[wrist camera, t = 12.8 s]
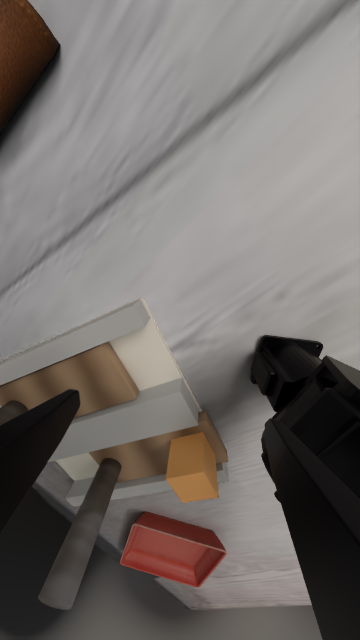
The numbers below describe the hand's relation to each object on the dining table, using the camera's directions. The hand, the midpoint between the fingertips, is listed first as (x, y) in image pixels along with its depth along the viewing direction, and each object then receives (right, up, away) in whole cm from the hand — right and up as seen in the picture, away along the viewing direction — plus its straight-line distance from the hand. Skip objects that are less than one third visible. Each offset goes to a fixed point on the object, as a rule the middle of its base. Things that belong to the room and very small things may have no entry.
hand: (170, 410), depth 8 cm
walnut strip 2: (-3, -15, +18) cm, 24 cm away
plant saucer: (-1, -42, +30) cm, 52 cm away
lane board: (-11, -10, +19) cm, 24 cm away
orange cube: (+2, -13, +16) cm, 20 cm away
